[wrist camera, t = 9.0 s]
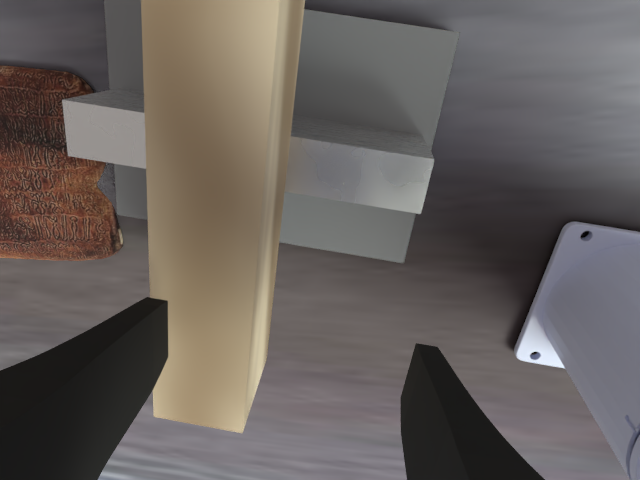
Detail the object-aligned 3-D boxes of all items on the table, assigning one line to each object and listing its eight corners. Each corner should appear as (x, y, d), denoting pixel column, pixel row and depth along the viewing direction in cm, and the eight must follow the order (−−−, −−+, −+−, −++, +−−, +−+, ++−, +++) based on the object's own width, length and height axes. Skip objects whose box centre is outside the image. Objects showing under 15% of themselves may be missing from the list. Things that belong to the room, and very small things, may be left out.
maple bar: (314, -89, 13) (291, -138, 9) (266, 358, 19) (242, 433, 16) (203, -104, 13) (136, -159, 9) (194, 345, 20) (153, 416, 16)
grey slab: (453, 32, 18) (460, 32, 17) (401, 249, 23) (403, 263, 21) (121, -17, 19) (102, -21, 18) (132, 204, 23) (117, 214, 22)
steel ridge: (422, 135, 19) (434, 159, 15) (412, 181, 20) (421, 214, 16) (120, 87, 19) (61, 99, 16) (123, 134, 20) (67, 156, 16)
